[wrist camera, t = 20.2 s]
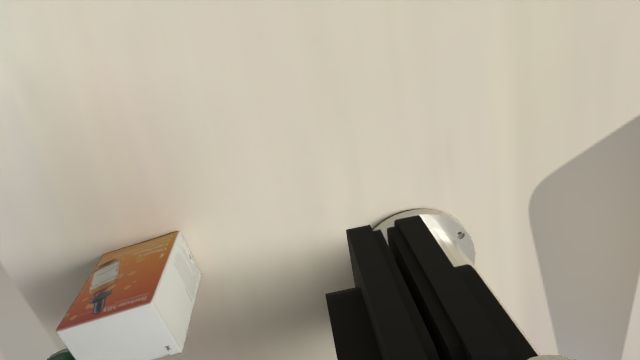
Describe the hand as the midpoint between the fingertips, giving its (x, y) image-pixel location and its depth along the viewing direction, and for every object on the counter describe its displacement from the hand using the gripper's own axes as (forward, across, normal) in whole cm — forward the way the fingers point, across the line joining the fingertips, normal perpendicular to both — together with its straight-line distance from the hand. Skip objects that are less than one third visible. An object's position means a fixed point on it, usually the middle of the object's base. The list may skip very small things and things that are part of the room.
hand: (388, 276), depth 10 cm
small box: (+29, +18, +16) cm, 38 cm away
